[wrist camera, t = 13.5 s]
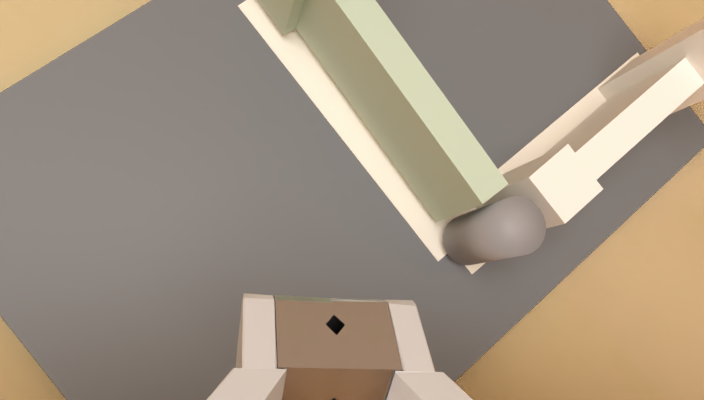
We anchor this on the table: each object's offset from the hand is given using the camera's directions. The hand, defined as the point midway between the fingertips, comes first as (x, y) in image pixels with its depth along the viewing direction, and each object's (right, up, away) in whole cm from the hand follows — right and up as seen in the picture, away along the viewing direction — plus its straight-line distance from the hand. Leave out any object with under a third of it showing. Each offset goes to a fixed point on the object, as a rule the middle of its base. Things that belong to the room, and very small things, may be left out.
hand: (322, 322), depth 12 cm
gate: (+1, +5, +15) cm, 16 cm away
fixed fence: (+10, +4, +18) cm, 21 cm away
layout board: (+1, +4, +15) cm, 16 cm away
